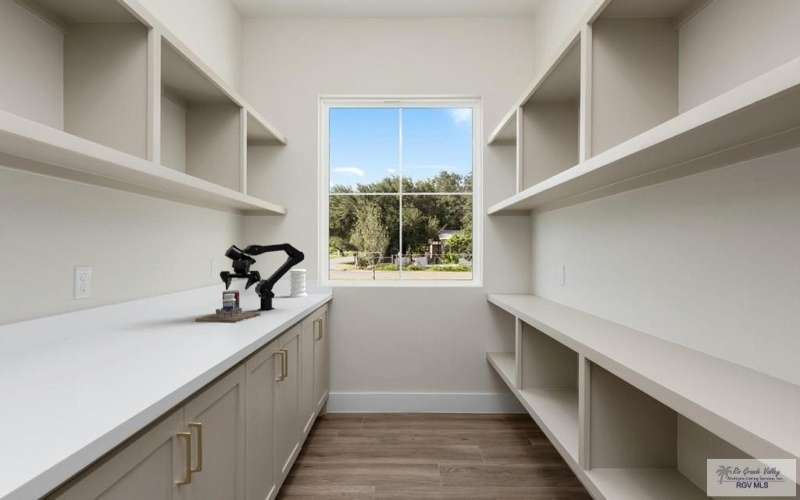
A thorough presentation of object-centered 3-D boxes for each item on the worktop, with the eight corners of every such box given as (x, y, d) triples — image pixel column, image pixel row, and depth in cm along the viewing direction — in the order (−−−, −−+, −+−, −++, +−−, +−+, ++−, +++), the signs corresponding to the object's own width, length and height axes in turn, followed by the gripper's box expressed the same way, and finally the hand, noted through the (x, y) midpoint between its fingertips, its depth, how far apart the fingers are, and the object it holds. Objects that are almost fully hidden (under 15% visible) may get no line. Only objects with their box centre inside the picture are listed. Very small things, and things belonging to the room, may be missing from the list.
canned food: (234, 314, 207) (234, 291, 207) (219, 313, 208) (219, 291, 208) (242, 311, 215) (242, 290, 215) (228, 311, 216) (227, 290, 216)
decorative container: (295, 297, 278) (295, 270, 278) (286, 296, 286) (285, 270, 286) (310, 296, 286) (310, 269, 286) (300, 295, 294) (300, 269, 294)
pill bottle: (229, 314, 198) (229, 293, 198) (238, 314, 196) (238, 293, 196) (220, 316, 192) (219, 294, 192) (229, 316, 190) (229, 294, 190)
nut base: (223, 314, 206) (223, 305, 206) (260, 315, 201) (260, 306, 201) (195, 321, 186) (195, 311, 186) (235, 322, 182) (235, 312, 182)
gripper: (220, 254, 207) (211, 278, 196) (258, 254, 207) (250, 278, 196) (227, 270, 215) (218, 293, 204) (264, 269, 215) (256, 293, 204)
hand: (235, 289), depth 202 cm, fingers open, 9 cm apart
